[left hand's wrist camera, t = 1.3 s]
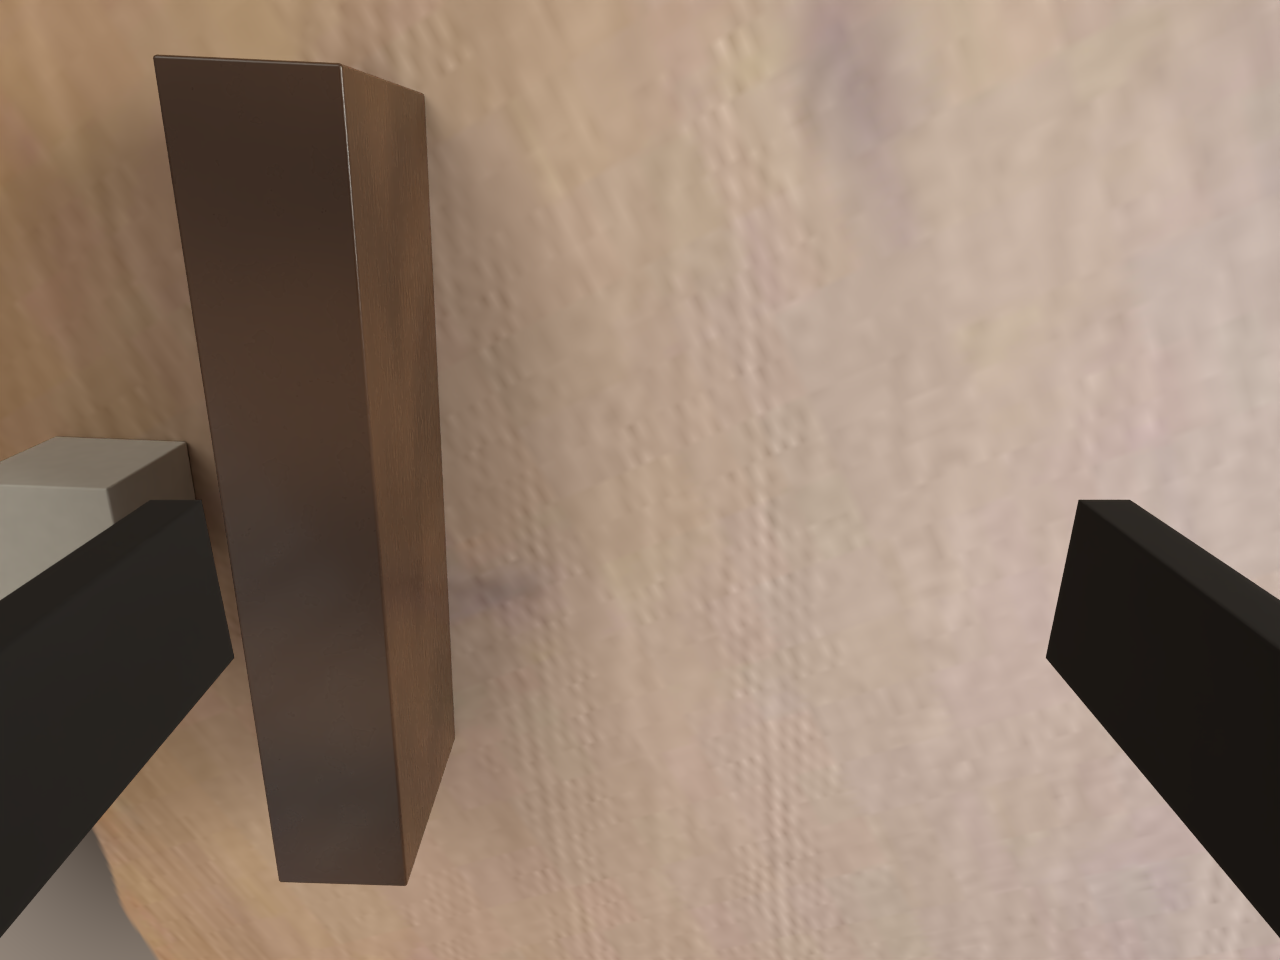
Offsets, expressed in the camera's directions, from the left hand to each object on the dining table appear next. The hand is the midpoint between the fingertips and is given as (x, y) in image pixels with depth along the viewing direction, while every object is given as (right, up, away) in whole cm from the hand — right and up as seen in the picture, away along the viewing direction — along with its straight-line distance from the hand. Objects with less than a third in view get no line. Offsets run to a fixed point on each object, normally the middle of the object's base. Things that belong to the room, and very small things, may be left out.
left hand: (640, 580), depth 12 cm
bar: (-10, +2, +19) cm, 21 cm away
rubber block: (-20, +1, +20) cm, 28 cm away
